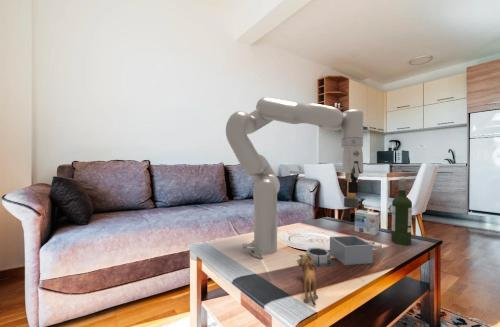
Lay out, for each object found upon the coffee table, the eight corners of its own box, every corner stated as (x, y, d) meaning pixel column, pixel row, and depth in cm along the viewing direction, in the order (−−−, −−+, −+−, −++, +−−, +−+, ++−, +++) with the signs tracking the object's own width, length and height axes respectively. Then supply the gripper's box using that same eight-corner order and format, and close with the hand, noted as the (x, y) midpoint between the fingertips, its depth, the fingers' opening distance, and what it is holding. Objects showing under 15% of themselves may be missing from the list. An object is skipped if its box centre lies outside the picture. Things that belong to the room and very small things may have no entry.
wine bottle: (414, 245, 111) (416, 179, 110) (395, 244, 112) (397, 179, 111) (406, 239, 119) (407, 177, 118) (388, 239, 120) (389, 177, 119)
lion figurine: (296, 279, 80) (296, 252, 79) (312, 279, 79) (312, 252, 79) (305, 307, 65) (306, 273, 65) (325, 307, 65) (326, 274, 65)
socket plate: (310, 271, 85) (310, 258, 85) (298, 258, 96) (298, 247, 96) (339, 269, 87) (339, 256, 87) (324, 257, 98) (325, 245, 98)
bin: (344, 269, 87) (345, 246, 87) (329, 256, 98) (329, 236, 98) (372, 267, 89) (373, 245, 89) (354, 255, 100) (355, 235, 100)
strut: (360, 208, 90) (361, 164, 90) (346, 207, 91) (346, 164, 90) (355, 205, 95) (356, 164, 95) (342, 205, 96) (343, 164, 95)
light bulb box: (354, 231, 132) (354, 211, 132) (357, 228, 137) (358, 209, 137) (375, 235, 125) (376, 214, 125) (379, 232, 130) (379, 212, 130)
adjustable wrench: (327, 251, 105) (327, 247, 105) (322, 245, 112) (322, 242, 112) (383, 249, 107) (383, 245, 107) (375, 244, 113) (375, 240, 113)
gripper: (370, 142, 84) (370, 195, 84) (355, 144, 100) (354, 189, 101) (348, 142, 84) (347, 195, 85) (336, 144, 101) (335, 189, 101)
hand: (351, 191), depth 93 cm, fingers closed on strut, 3 cm apart
